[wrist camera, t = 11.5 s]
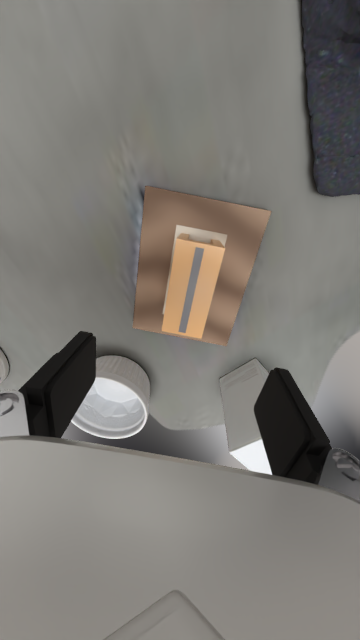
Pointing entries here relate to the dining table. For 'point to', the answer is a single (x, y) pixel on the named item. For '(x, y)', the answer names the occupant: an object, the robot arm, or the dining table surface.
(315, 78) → the dark grey piece
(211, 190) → the dining table surface
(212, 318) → the pin board
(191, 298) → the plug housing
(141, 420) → the ramekin
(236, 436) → the supplement box
